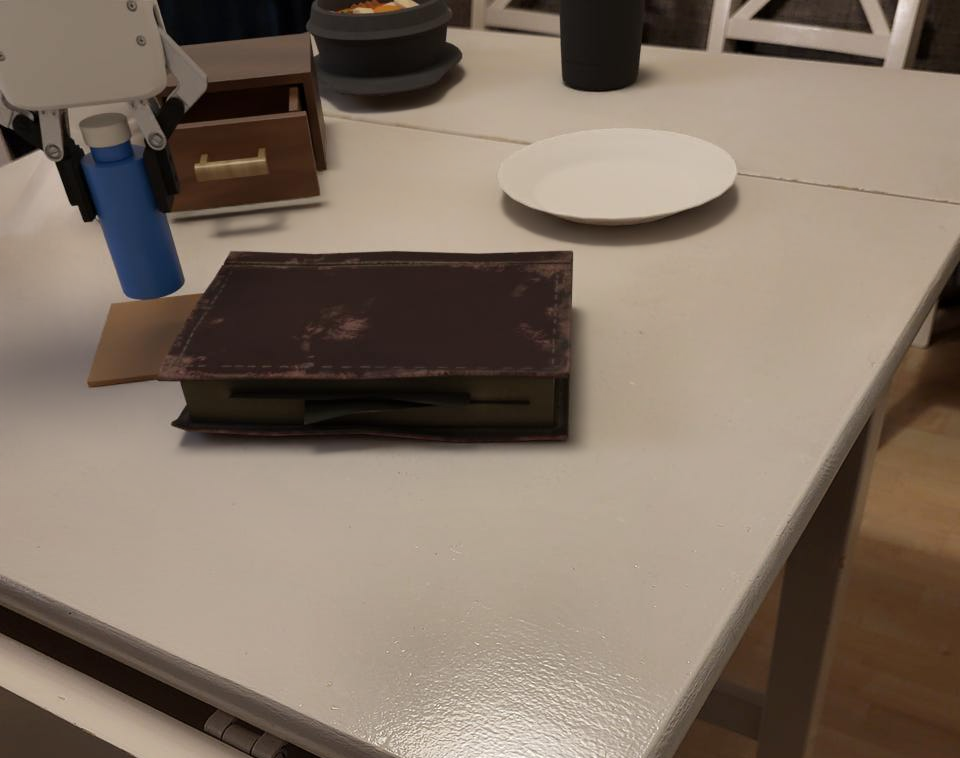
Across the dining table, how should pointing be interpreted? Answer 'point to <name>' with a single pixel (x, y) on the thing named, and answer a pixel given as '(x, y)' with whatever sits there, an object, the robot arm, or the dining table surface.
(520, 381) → the diary
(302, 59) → the cabinet
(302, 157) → the drawer
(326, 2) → the casserole
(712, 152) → the plate
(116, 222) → the bottle
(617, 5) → the pen holder
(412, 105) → the dining table surface
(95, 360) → the mat
